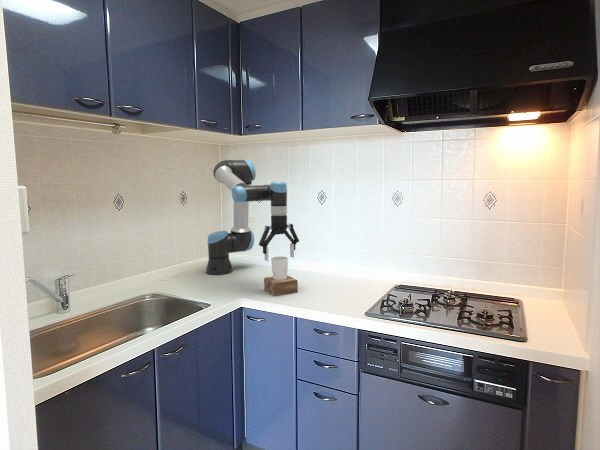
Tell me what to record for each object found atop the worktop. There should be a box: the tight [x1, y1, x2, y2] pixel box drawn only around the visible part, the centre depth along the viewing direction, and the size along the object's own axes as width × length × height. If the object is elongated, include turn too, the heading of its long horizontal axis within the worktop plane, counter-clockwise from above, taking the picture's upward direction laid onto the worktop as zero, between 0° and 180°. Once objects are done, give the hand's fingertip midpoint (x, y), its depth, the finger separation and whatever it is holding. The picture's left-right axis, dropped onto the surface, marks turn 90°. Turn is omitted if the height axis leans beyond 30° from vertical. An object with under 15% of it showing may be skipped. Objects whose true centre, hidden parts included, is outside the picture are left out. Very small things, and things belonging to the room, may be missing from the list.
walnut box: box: [263, 274, 299, 297], centre depth 186 cm, size 12×12×6 cm
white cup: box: [271, 255, 289, 280], centre depth 186 cm, size 8×8×10 cm
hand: (279, 258), depth 185 cm, fingers open, 13 cm apart
